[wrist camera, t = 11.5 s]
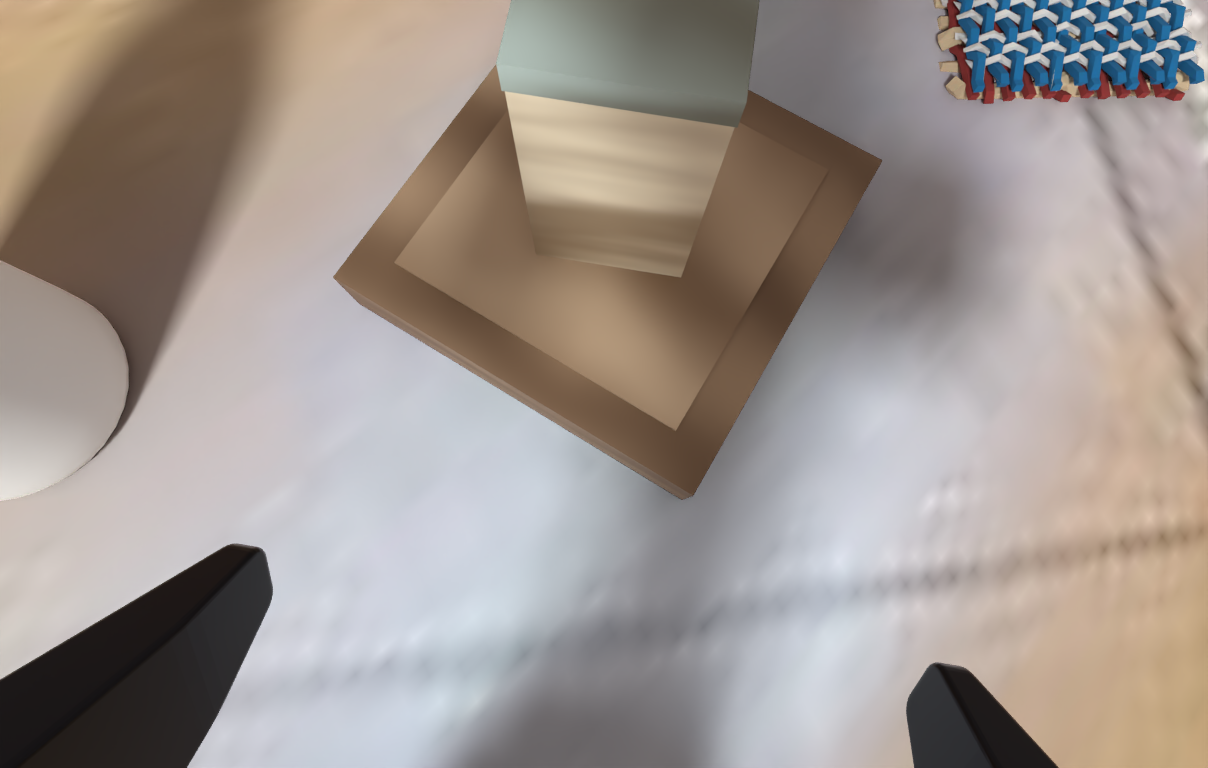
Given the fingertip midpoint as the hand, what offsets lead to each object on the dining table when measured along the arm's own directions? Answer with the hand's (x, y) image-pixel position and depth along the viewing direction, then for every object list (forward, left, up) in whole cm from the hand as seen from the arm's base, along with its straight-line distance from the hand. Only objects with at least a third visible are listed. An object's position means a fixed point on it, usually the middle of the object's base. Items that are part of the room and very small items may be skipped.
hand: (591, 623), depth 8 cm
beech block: (+11, +5, -11) cm, 16 cm away
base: (+11, +5, -14) cm, 18 cm away
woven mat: (+31, -5, -14) cm, 34 cm away
